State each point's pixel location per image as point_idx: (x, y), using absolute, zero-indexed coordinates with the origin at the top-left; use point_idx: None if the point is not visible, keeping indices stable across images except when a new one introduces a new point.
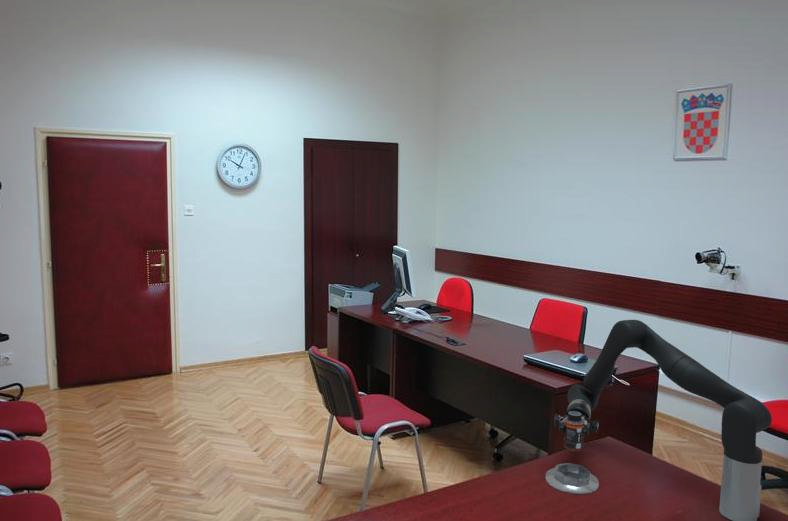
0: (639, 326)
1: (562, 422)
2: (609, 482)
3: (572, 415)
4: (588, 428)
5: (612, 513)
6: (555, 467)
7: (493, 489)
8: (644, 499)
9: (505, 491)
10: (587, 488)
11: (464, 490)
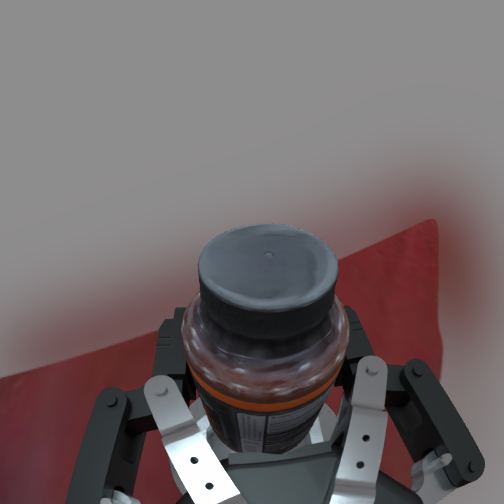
0: None
1: (366, 356)
2: (140, 491)
3: (275, 225)
4: (156, 370)
5: (144, 337)
6: (321, 436)
7: (401, 312)
8: (63, 417)
9: (381, 318)
10: (201, 409)
11: (428, 286)
